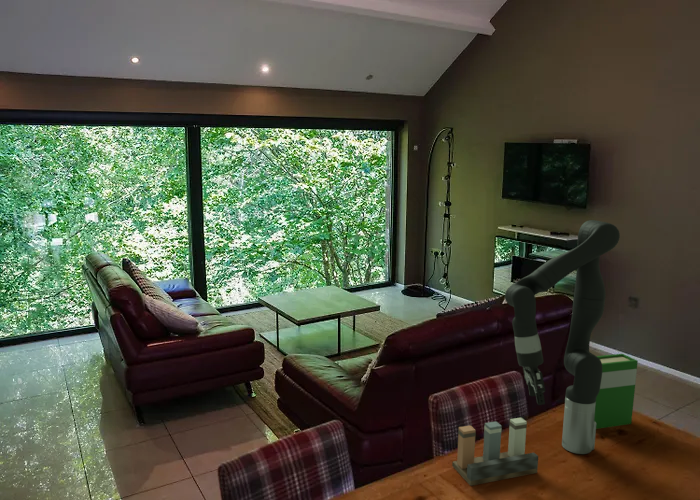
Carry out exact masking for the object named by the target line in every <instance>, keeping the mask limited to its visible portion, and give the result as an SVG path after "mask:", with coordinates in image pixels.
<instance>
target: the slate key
mask: <svg viewBox="0 0 700 500" xmlns="http://www.w3.org/2000/svg"><path fill="white" fill-rule="evenodd" d="M502 427H503V426H502V425H501V424H500V423H499V422H498V421H489V422H485V423H484V428H483V430H484V431H483V449H482V451H483V453H482V456H483V460H484V461H490V460H495V459H500V453H501V441H502V440H501V439H502V430H503V429H502Z"/></svg>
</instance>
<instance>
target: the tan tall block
mask: <svg viewBox="0 0 700 500" xmlns="http://www.w3.org/2000/svg"><path fill="white" fill-rule="evenodd" d="M457 433H458V437H457V457H456V461H457V464H458V465H459V466H460V467H461V468H462V469H464V468H467V464H473V463H474V458H475V452H476V451H475V448H476V446H475V445H476V443H475V442H476V435H477V434H476V429H475V428H474V427H473V426H472V425H465V426H458V432H457Z"/></svg>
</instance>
